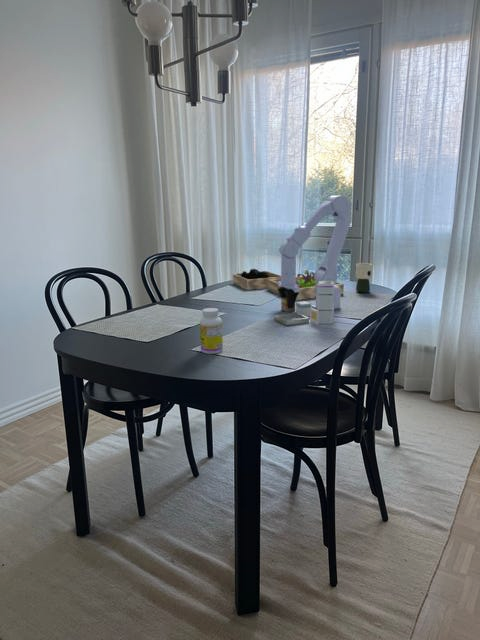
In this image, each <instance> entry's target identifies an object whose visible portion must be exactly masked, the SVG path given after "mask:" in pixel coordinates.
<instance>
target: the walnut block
mask: <svg viewBox="0 0 480 640" xmlns="http://www.w3.org/2000/svg"><path fill="white" fill-rule="evenodd" d="M280 299H281V301H280V302H281V303H280V304H281V305H280V306H281V309H280V310H282V311H283V312H286V313H287V312H288V313H291V312H295V311H296V303H295V304H294V308H288V304H287V297H282V298H281V297H280Z"/></svg>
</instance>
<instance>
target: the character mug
mask: <svg viewBox="0 0 480 640" xmlns="http://www.w3.org/2000/svg"><path fill="white" fill-rule="evenodd" d="M372 274H373V264H372V263H366V262H358V263H356V265H355V278H357V282H356V286H355V291H356V292H360V293H362V292H363V293H369V292H370V291H371V285H370V280H369V279H372V276H373V275H372Z"/></svg>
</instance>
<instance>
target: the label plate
mask: <svg viewBox="0 0 480 640" xmlns="http://www.w3.org/2000/svg"><path fill="white" fill-rule="evenodd" d="M309 323H312V324H314V325H316V326H319V325H320V323H319V311H318V309H316V308H314V307H311V310H310V316H309Z"/></svg>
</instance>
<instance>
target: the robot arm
mask: <svg viewBox="0 0 480 640" xmlns="http://www.w3.org/2000/svg"><path fill="white" fill-rule="evenodd" d="M327 216H332V217H333V219H334V220H335V222H336V223H335V225H334V228H333V231H332V233H331V234H332V235H331V238H330V241H329V244H328V246H327V249H326V252H325V255H324V258H323V261H321V263H319V266H318V268H317V269H316V270H315V271H314V273H315V274H314V278H315V280H316V281H317V284H316V298H315V304H311V308H313V309H315V310H318V283H319V281H333V282H334V310H336V309H337V310H338V309H341V308H342V306H341V296H342V295H341V292H340V288H339V287H338V286H337V285H335V283H336V282H338V276H337V275H338V271H339V269H338V261H339V258H340V256H341V253H342V250H343V247H344V244H345V241H346V238H347V235H348V232H349V229H350V226H351V224H352V215H351V203H350V201H349V199H348V198H347V197H346V196H345V195H333V194H332V195H328V196H327V198H326V199H325V200H324V201H322V202H321V204H320V205H319V207H318V208H317V209H316V210H315V211H314V212H313V214H312V215H311V216H310V218H309V219H308V220H307V221H306V223H305V224H303V225H300V226H298V227H295V228H294V229H293V230H294V232H293V233H292V234H291V235H290V236H289V237H287V238H286V241H285V242H284V241H283V242H282V243H281V244H280V247H279V248H278V251H279V254H280V255H281V256H280V257H281V259H280V260H281V262H280V263H281V264H280V266H281V267H280V269H281V270H280V271H281V272H280V275H281V281H278V286H279V287H281V288H278V292H279V294H280V295H279V294H278V295H279V296H280V299H281V298H282V297H287V304H288V308H294V304H295V305H296V302H297V300H296V298H297V296H298V294H299V292H300V287H298V286H297V284H296V277H297V275H296V274H297V258H296V257H297V255H299V249H300V248H301V247H303V245H304V244H305V243H306V242H307V241H308V240H309V239H310V238H311V231H312V230H313V229H314V228H316V227H317V225H319V223H320V222H321V221H322V220H323V219H325V218H326V217H327Z"/></svg>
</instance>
